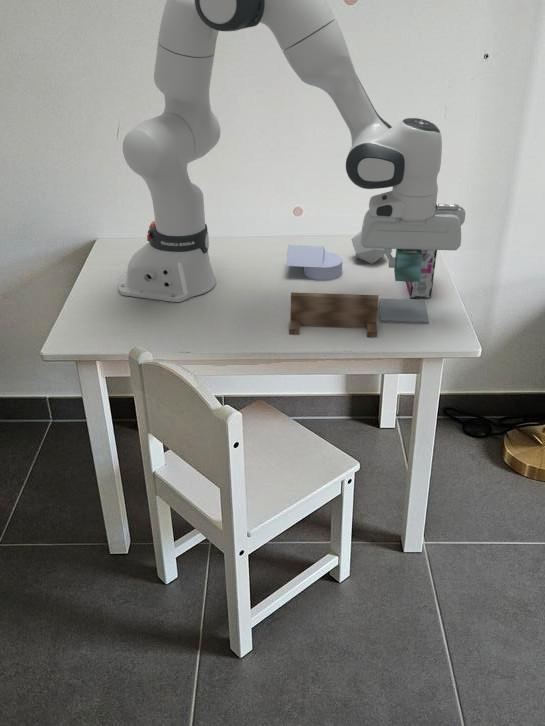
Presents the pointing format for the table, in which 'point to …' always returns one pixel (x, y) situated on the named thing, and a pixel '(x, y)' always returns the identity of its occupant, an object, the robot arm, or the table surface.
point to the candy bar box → (423, 280)
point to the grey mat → (403, 311)
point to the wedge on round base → (315, 261)
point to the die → (366, 250)
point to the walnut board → (334, 311)
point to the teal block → (408, 265)
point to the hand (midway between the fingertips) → (407, 267)
